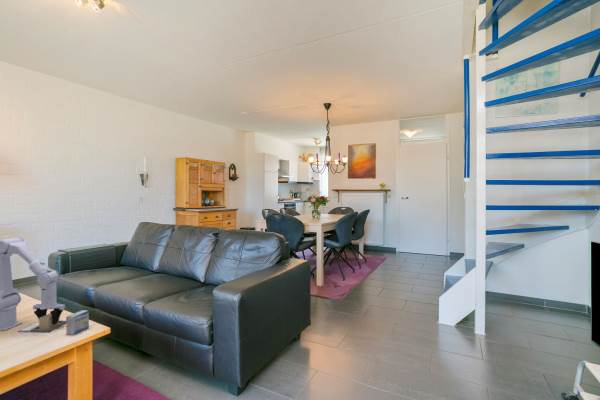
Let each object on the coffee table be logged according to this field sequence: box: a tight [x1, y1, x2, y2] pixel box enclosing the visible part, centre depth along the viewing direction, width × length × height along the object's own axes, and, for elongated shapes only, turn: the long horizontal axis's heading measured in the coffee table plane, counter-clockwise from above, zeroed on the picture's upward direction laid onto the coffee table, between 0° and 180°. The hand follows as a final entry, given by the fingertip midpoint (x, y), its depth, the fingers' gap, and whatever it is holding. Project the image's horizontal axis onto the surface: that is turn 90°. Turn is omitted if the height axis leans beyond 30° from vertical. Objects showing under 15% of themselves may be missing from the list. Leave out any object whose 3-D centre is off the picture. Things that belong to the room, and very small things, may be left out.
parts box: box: [38, 312, 60, 329], centre depth 143 cm, size 4×6×6 cm
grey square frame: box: [30, 320, 66, 333], centre depth 143 cm, size 9×10×1 cm
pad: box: [17, 321, 39, 333], centre depth 143 cm, size 6×10×1 cm, turn 178°
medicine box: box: [65, 309, 90, 336], centre depth 139 cm, size 8×4×9 cm, turn 168°
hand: (49, 323), depth 143 cm, fingers open, 6 cm apart
